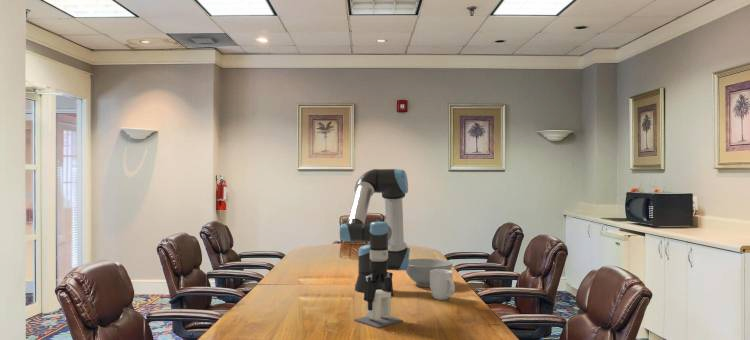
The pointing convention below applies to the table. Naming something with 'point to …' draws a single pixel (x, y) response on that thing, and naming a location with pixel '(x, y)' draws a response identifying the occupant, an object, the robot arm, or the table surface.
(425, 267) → the decorative bowl
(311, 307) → the table surface
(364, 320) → the mat
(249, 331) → the table surface
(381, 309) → the white upright block
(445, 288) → the mug
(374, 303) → the robot arm
